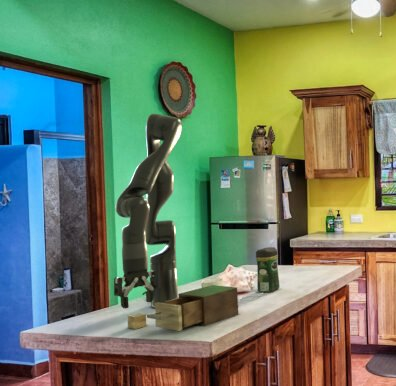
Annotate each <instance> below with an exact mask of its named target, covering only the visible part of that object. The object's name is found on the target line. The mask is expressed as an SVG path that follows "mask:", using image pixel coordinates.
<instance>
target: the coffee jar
mask: <svg viewBox="0 0 396 386" xmlns="http://www.w3.org/2000/svg"><path fill="white" fill-rule="evenodd" d="M278 256H279V254H278V249H277V248H276V247H275V246H274V247H273V246H268V247H263V248H260V249H257V250H256V251H255V261H256V268H257V271H256V272H257V286H256V287H257V291H258V292H260V293H264V294H265V293H271V292H274V291H277V290H278V289H280V287H281V286H280V278H279V268H278V259H279V257H278Z"/></svg>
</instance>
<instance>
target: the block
mask: <svg viewBox="0 0 396 386" xmlns="http://www.w3.org/2000/svg"><path fill="white" fill-rule="evenodd" d="M126 318H127V328H128V329H133V330H137V329H141V328H144V327H146V326H147V314H146V313H141V312H136V313H133V314H130V315H127V317H126Z"/></svg>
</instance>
